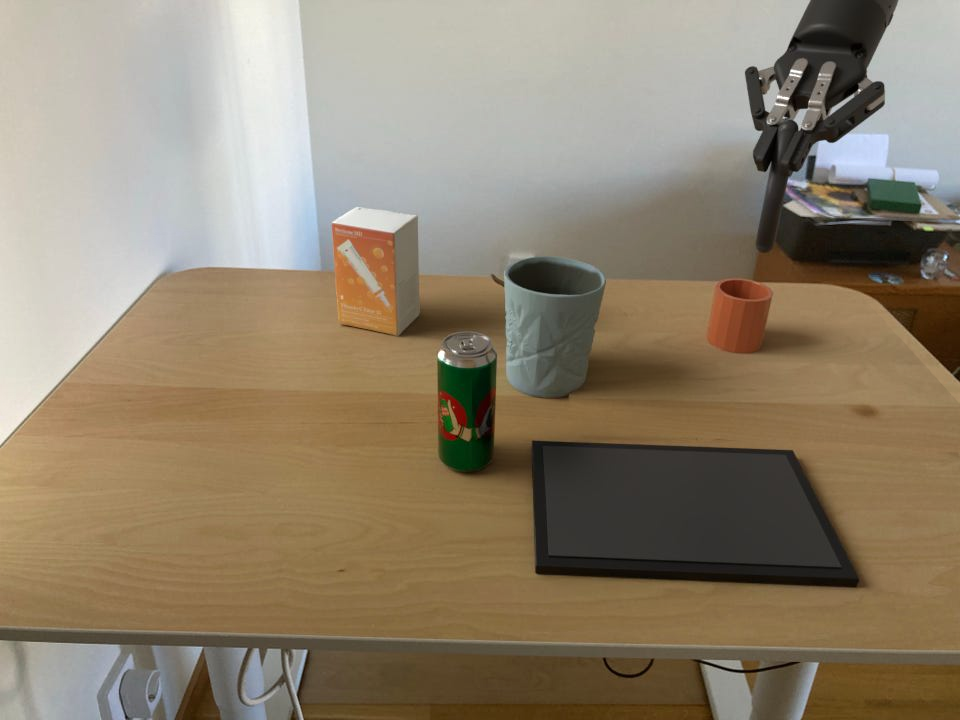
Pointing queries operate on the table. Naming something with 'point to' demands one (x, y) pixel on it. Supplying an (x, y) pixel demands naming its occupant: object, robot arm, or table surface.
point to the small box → (376, 269)
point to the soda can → (466, 401)
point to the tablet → (681, 515)
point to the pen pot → (739, 315)
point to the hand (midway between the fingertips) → (772, 168)
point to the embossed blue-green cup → (550, 323)
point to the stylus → (774, 190)
